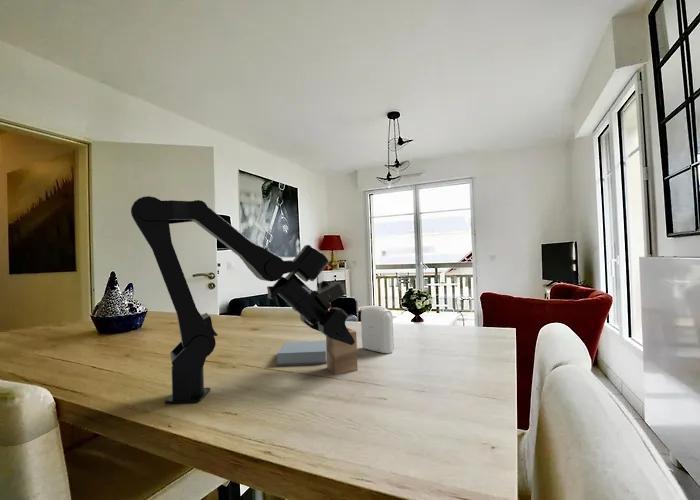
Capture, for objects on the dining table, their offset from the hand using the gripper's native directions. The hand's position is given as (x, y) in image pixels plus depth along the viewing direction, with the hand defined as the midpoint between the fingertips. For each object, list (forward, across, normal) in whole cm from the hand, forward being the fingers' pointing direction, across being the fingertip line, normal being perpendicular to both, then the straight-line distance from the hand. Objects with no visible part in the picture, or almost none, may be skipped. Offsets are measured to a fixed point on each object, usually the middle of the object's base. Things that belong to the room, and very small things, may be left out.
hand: (346, 339), depth 86 cm
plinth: (0, +14, +9) cm, 17 cm away
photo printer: (+15, +11, -5) cm, 19 cm away
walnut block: (+4, 0, +6) cm, 7 cm away
